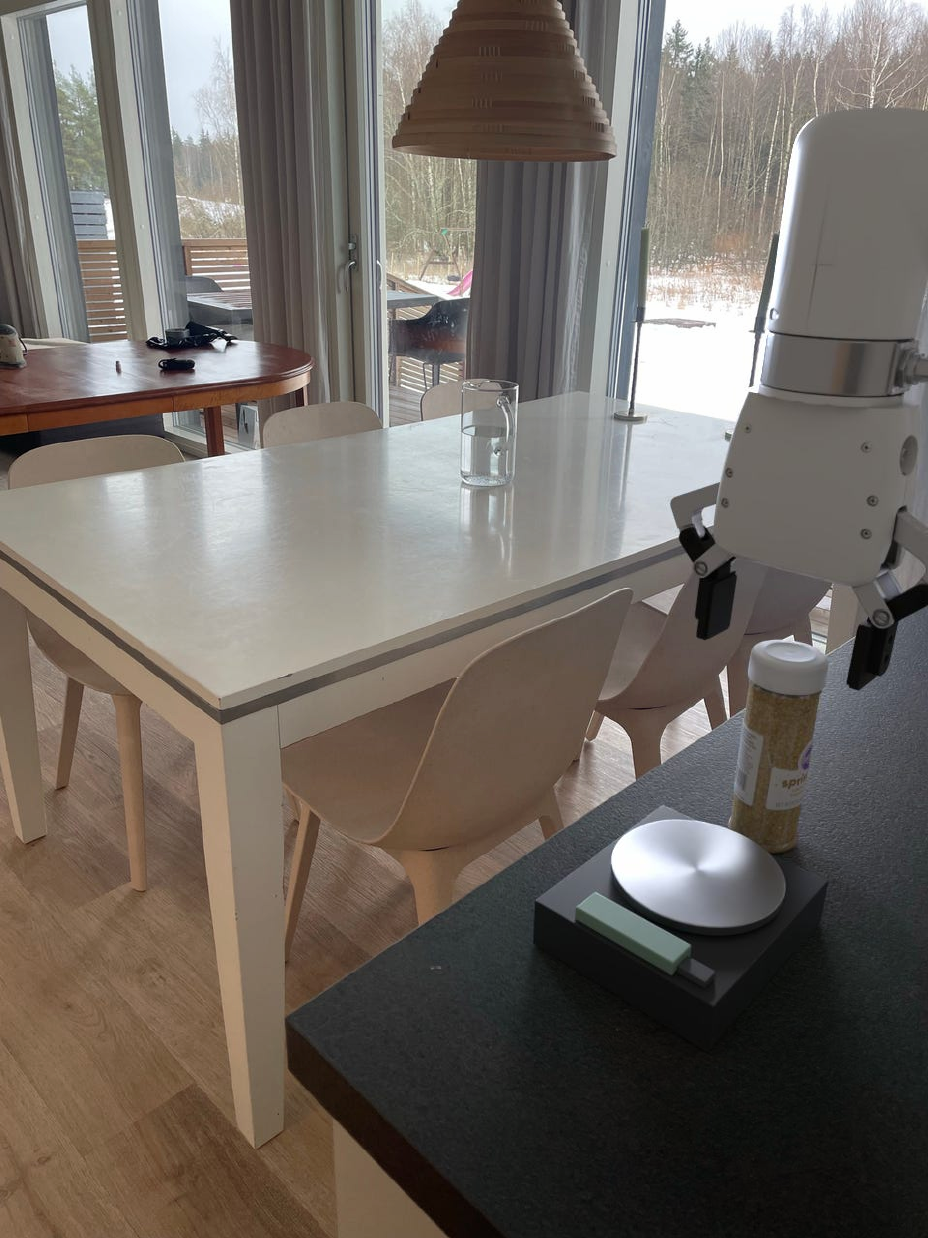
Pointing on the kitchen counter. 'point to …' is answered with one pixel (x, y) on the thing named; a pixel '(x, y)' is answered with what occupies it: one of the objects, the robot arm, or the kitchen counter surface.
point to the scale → (671, 946)
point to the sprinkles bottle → (777, 741)
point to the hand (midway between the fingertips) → (783, 656)
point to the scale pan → (698, 877)
